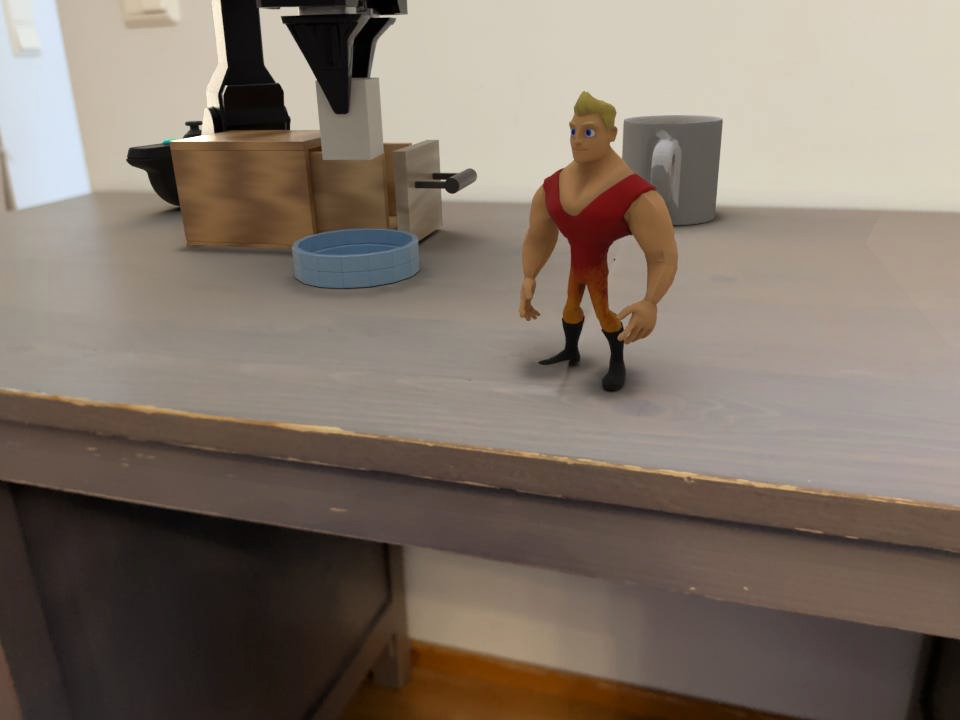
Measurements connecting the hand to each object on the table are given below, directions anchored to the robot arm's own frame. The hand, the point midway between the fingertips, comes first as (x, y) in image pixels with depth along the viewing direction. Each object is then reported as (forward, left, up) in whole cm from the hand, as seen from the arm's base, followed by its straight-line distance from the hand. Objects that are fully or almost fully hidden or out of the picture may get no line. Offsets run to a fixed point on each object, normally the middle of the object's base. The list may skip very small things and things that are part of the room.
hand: (350, 111), depth 62 cm
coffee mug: (-24, +24, -13) cm, 36 cm away
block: (0, 0, -4) cm, 4 cm away
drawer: (-9, -1, -12) cm, 15 cm away
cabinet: (-9, -13, -13) cm, 20 cm away
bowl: (+3, +1, -13) cm, 13 cm away
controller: (-24, -34, -13) cm, 44 cm away
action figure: (+20, +22, -13) cm, 33 cm away
